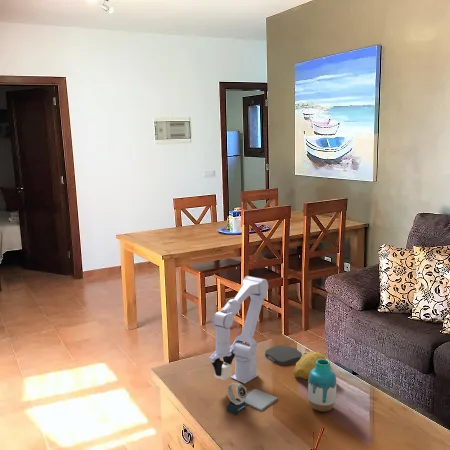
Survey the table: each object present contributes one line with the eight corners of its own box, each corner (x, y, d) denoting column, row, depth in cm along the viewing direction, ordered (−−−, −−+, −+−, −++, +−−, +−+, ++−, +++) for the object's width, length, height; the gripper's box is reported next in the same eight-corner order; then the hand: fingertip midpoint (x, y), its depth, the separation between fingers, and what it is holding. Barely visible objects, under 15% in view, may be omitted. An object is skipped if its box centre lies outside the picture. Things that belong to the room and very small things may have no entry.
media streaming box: (305, 360, 232) (305, 354, 231) (280, 367, 224) (281, 361, 224) (285, 348, 244) (285, 342, 244) (261, 355, 237) (261, 349, 236)
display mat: (255, 390, 204) (255, 388, 203) (277, 399, 197) (277, 397, 196) (238, 401, 195) (238, 399, 195) (261, 411, 188) (261, 409, 188)
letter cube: (221, 372, 205) (221, 360, 204) (231, 375, 202) (231, 364, 201) (214, 376, 201) (214, 364, 200) (223, 380, 198) (223, 368, 197)
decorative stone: (302, 386, 202) (326, 358, 203) (283, 366, 215) (304, 340, 216) (319, 399, 209) (342, 371, 210) (299, 379, 222) (320, 353, 223)
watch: (239, 417, 184) (240, 390, 182) (223, 409, 190) (223, 382, 188) (249, 411, 188) (249, 384, 186) (233, 403, 194) (233, 377, 192)
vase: (337, 403, 193) (338, 357, 190) (333, 418, 184) (335, 370, 180) (309, 399, 197) (311, 354, 193) (305, 413, 187) (306, 365, 184)
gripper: (218, 349, 191) (218, 382, 193) (241, 338, 202) (241, 369, 204) (204, 345, 195) (205, 377, 197) (228, 333, 206) (228, 364, 208)
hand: (222, 372), depth 201 cm, fingers closed on letter cube, 5 cm apart
